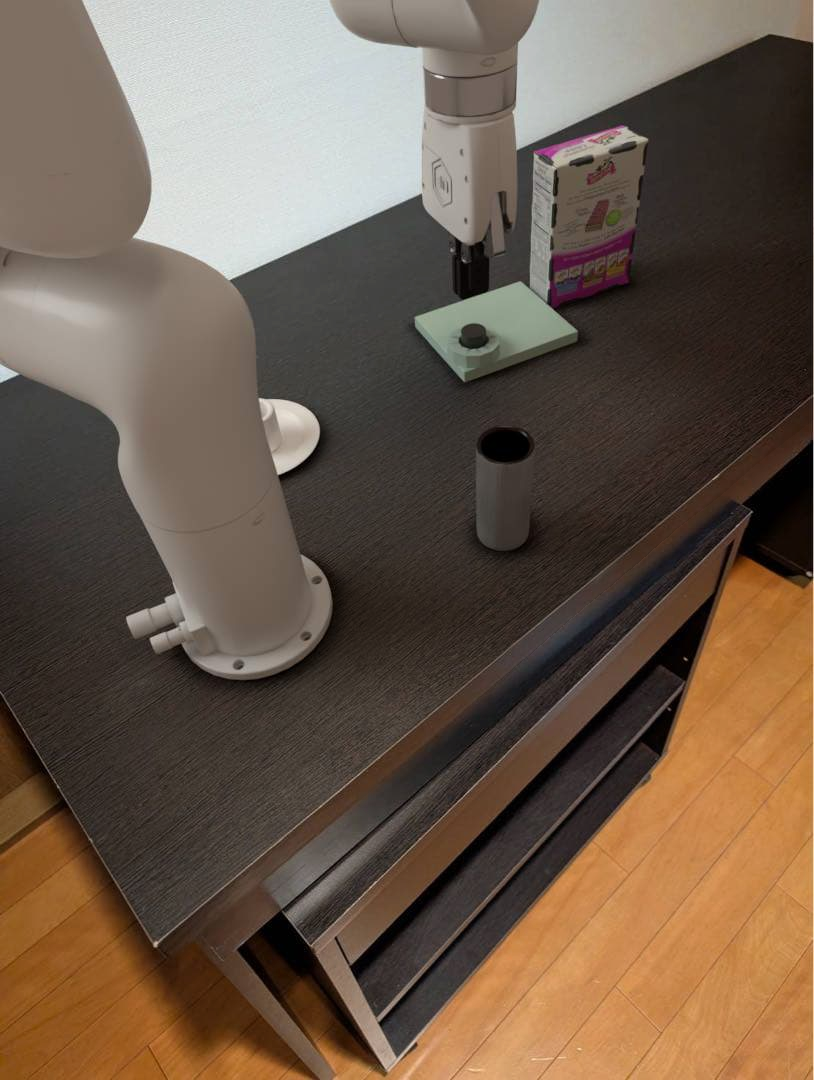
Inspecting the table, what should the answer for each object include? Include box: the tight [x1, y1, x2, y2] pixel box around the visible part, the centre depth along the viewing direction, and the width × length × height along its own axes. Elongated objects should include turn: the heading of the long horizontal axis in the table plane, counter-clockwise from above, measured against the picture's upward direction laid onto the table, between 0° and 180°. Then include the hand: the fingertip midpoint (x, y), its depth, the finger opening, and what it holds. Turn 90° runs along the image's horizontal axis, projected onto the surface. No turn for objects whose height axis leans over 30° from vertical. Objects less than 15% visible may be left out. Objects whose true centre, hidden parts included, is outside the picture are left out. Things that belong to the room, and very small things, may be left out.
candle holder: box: [259, 397, 321, 476], centre depth 75 cm, size 12×12×4 cm
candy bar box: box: [528, 125, 649, 310], centre depth 84 cm, size 11×5×16 cm, turn 114°
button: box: [461, 323, 486, 349], centre depth 80 cm, size 3×3×2 cm
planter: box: [475, 424, 536, 552], centre depth 62 cm, size 4×4×10 cm
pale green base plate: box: [414, 280, 579, 383], centre depth 84 cm, size 14×12×3 cm
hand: (470, 292), depth 75 cm, fingers closed
